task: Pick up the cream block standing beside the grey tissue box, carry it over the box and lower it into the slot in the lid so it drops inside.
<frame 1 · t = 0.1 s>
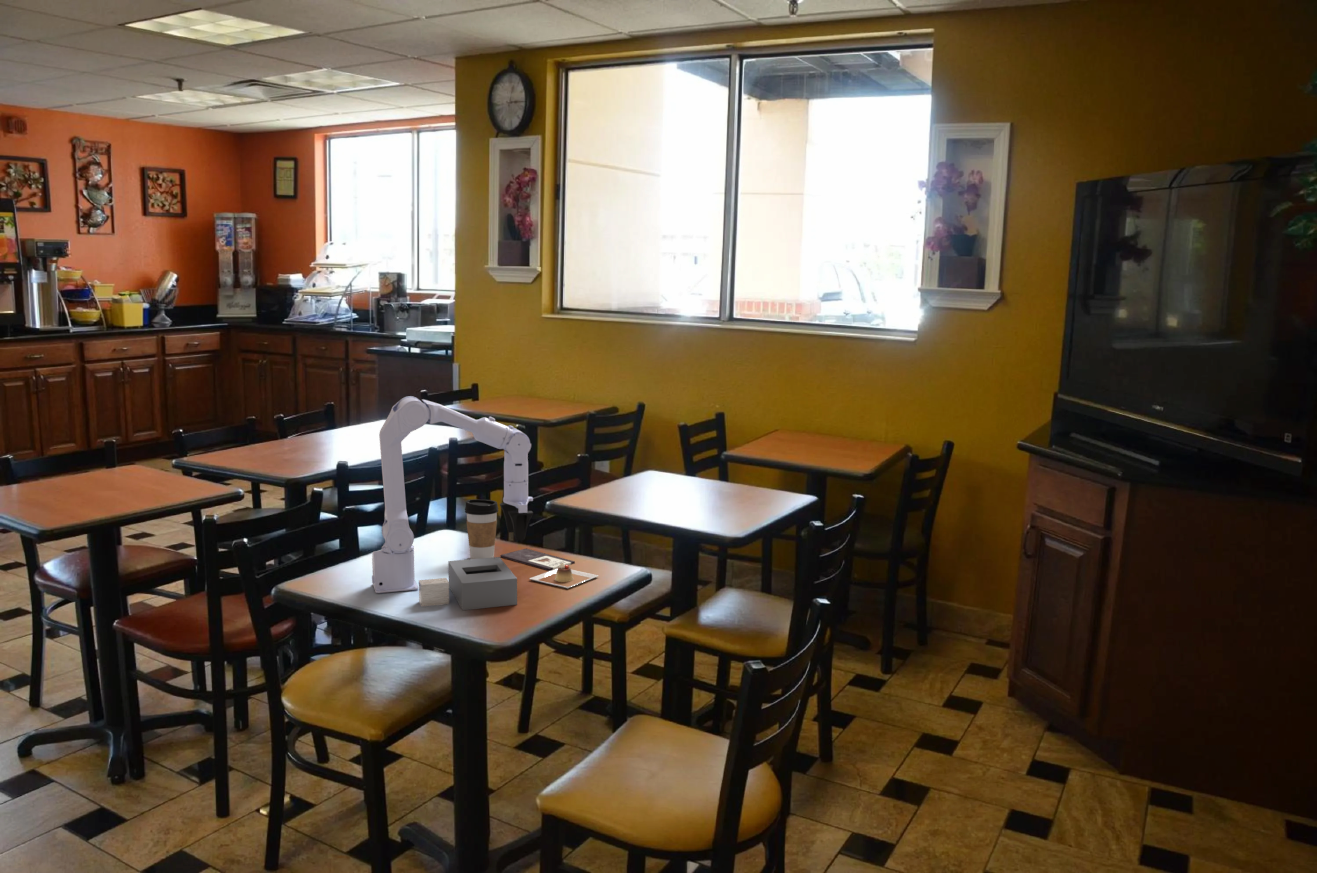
hand: (516, 535, 236), 10 cm above the table, fingers open, 7 cm apart
coffee cup: (482, 558, 253), on the table
dessert: (564, 582, 236), on the table
grey tissue box: (482, 595, 223), on the table
chocolate bar: (537, 562, 252), on the table
cream block: (434, 603, 217), on the table
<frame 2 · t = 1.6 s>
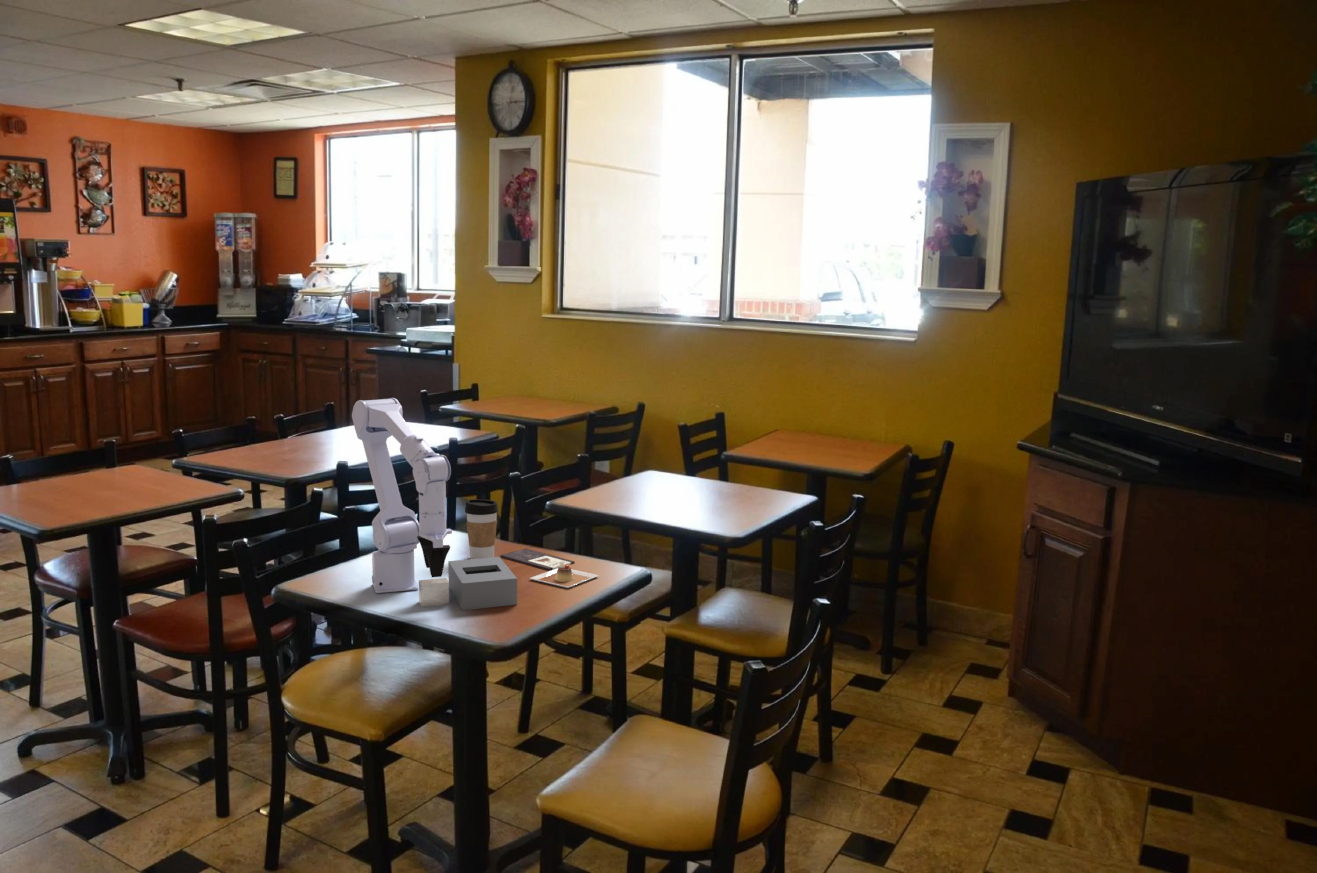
hand: (433, 571, 216), 7 cm above the table, fingers open, 7 cm apart
nothing on the table moved.
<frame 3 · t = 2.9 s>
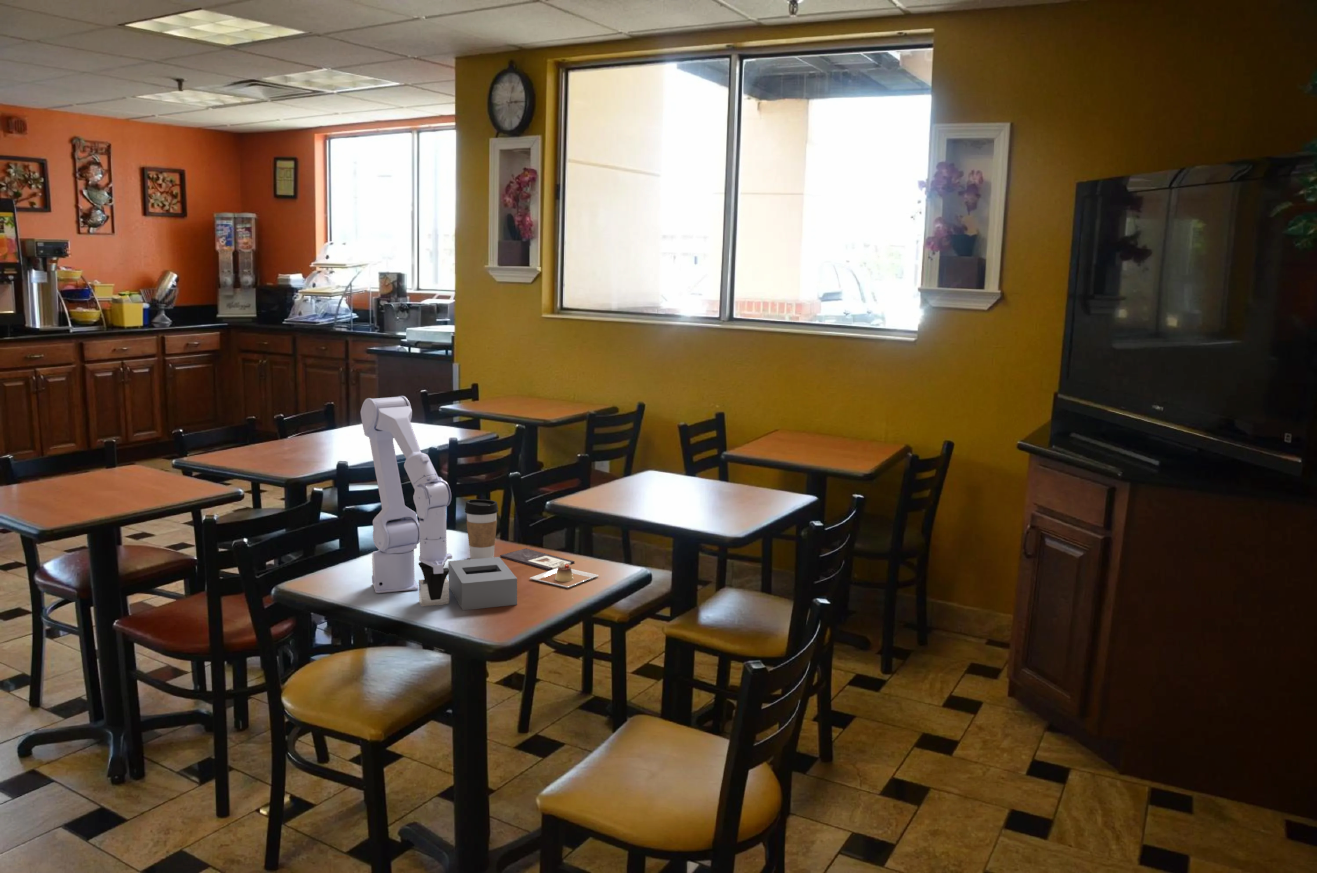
hand: (434, 596, 217), 1 cm above the table, fingers closed on cream block, 3 cm apart
cream block: (434, 602, 217), on the table, touching gripper
everything else where it was.
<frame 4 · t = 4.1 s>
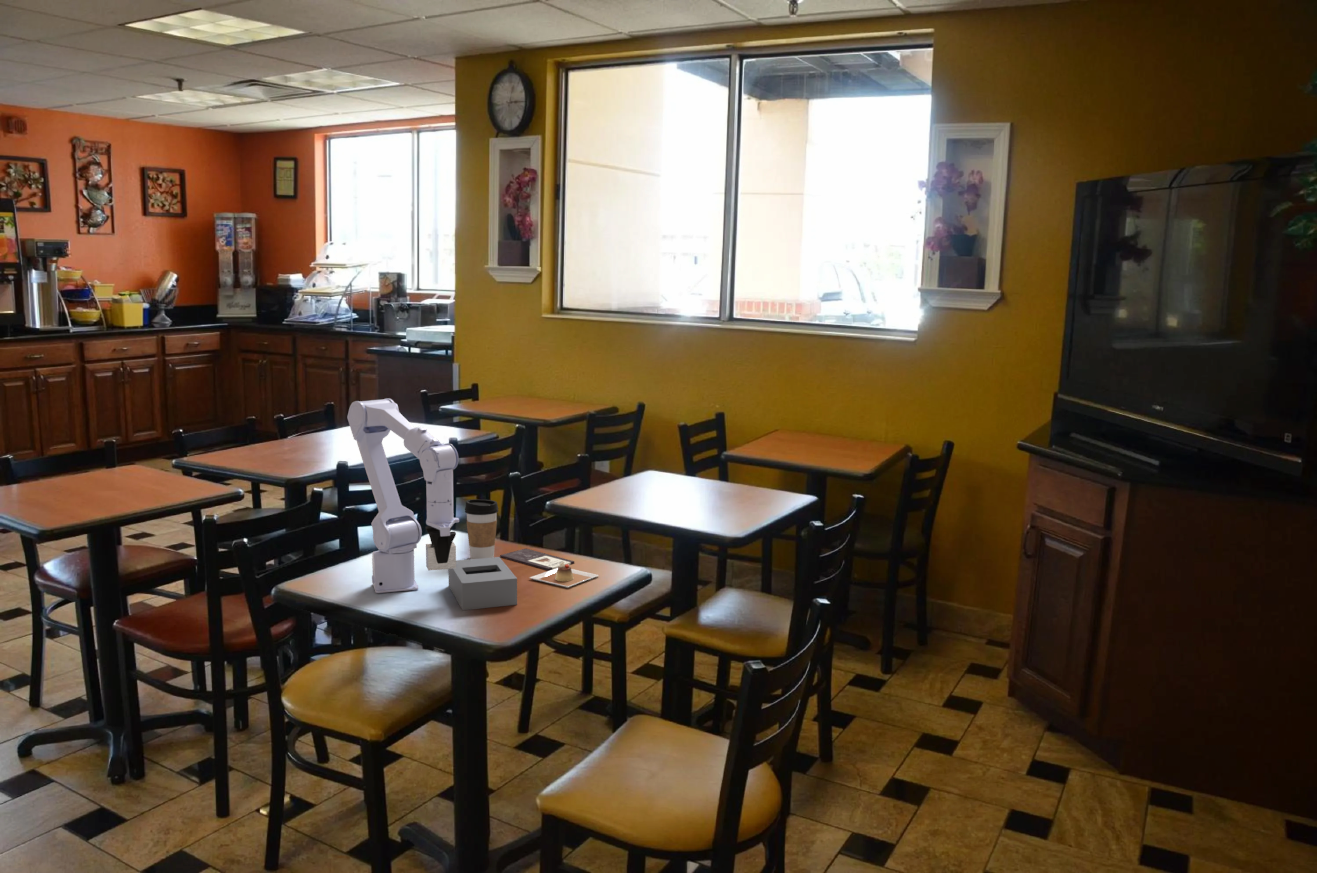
hand: (441, 560, 216), 9 cm above the table, fingers closed on cream block, 3 cm apart
cream block: (441, 567, 217), point 8 cm above the table, touching gripper
everything else where it was.
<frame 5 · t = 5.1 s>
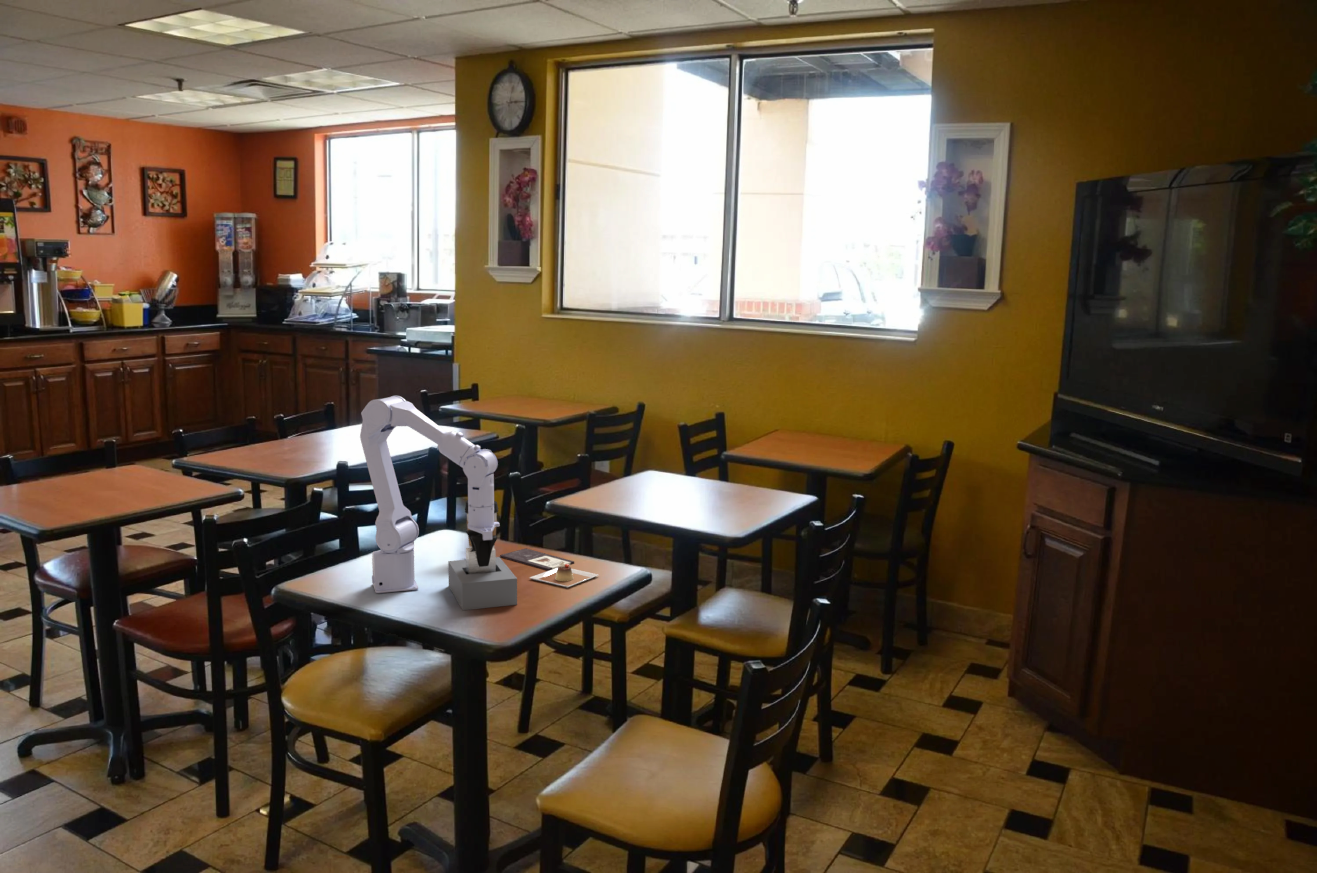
hand: (481, 563, 222), 7 cm above the table, fingers closed on cream block, 3 cm apart
cream block: (480, 570, 222), point 6 cm above the table, touching gripper
everything else where it was.
when the fingers open (7 cm above the table, at t = 5.5 s): cream block drops 5 cm, resting in grey tissue box.
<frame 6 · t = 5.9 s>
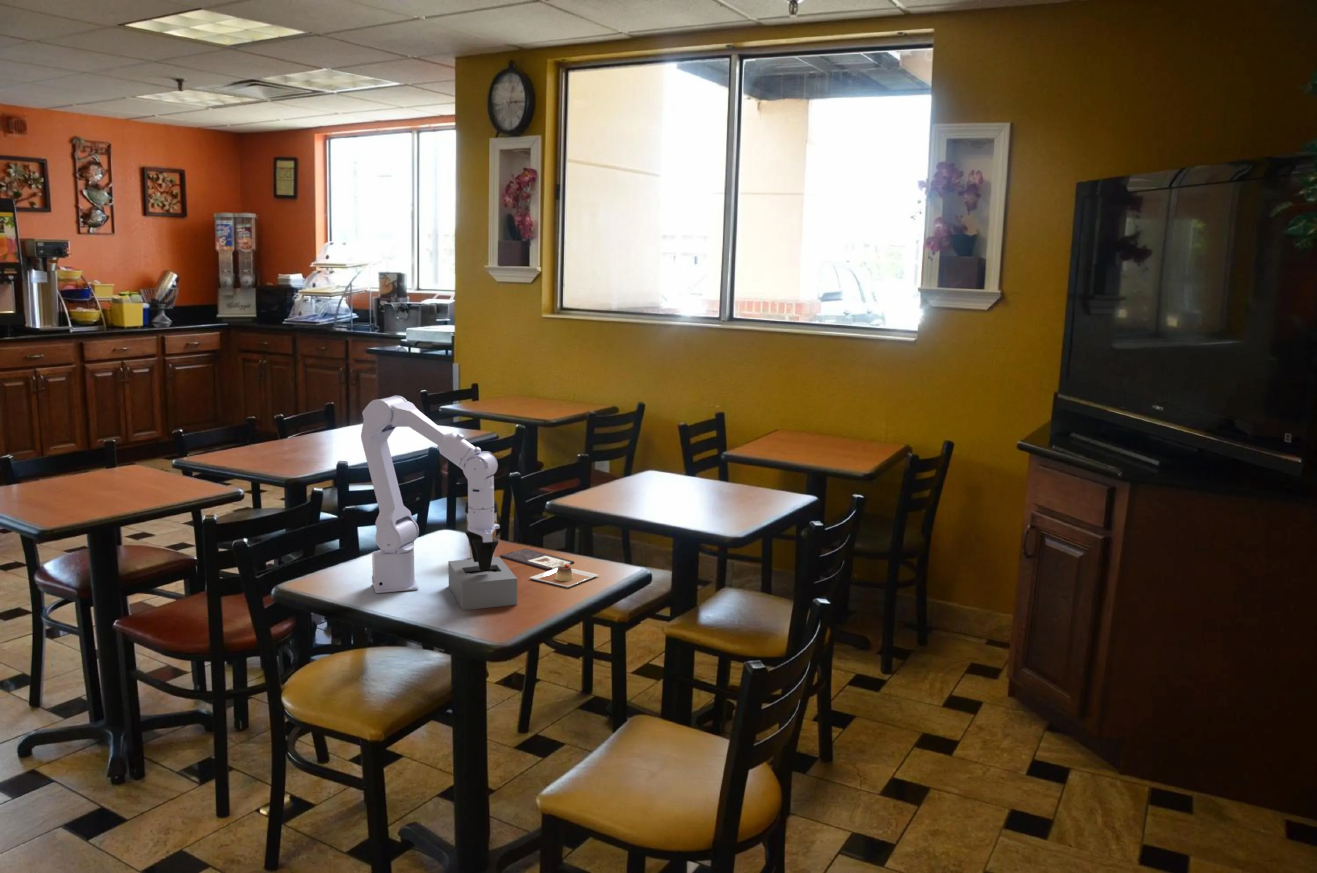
hand: (481, 565, 222), 7 cm above the table, fingers open, 6 cm apart
cream block: (481, 595, 223), resting in grey tissue box
everything else where it was.
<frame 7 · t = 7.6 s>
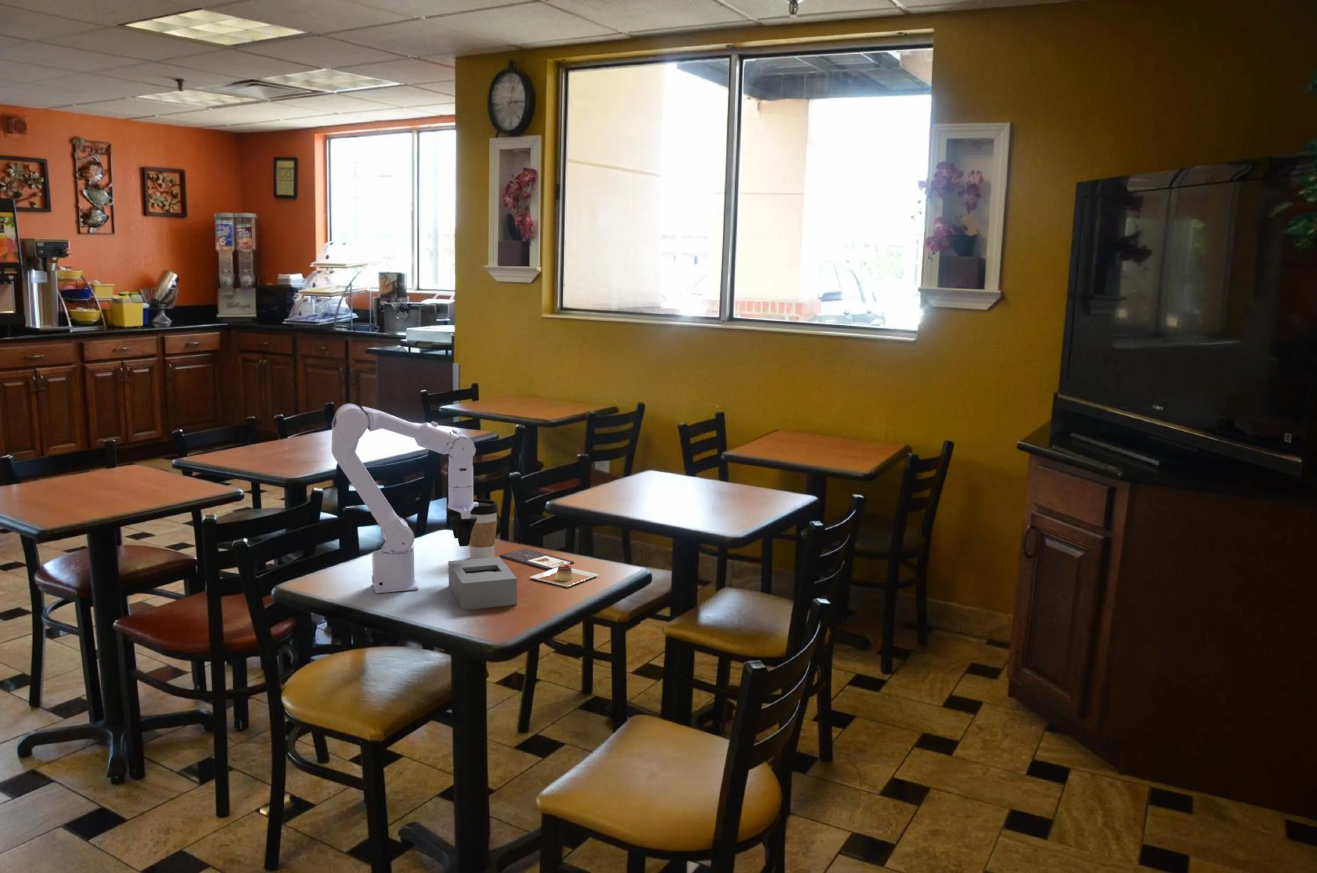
hand: (461, 541, 232), 9 cm above the table, fingers open, 7 cm apart
nothing on the table moved.
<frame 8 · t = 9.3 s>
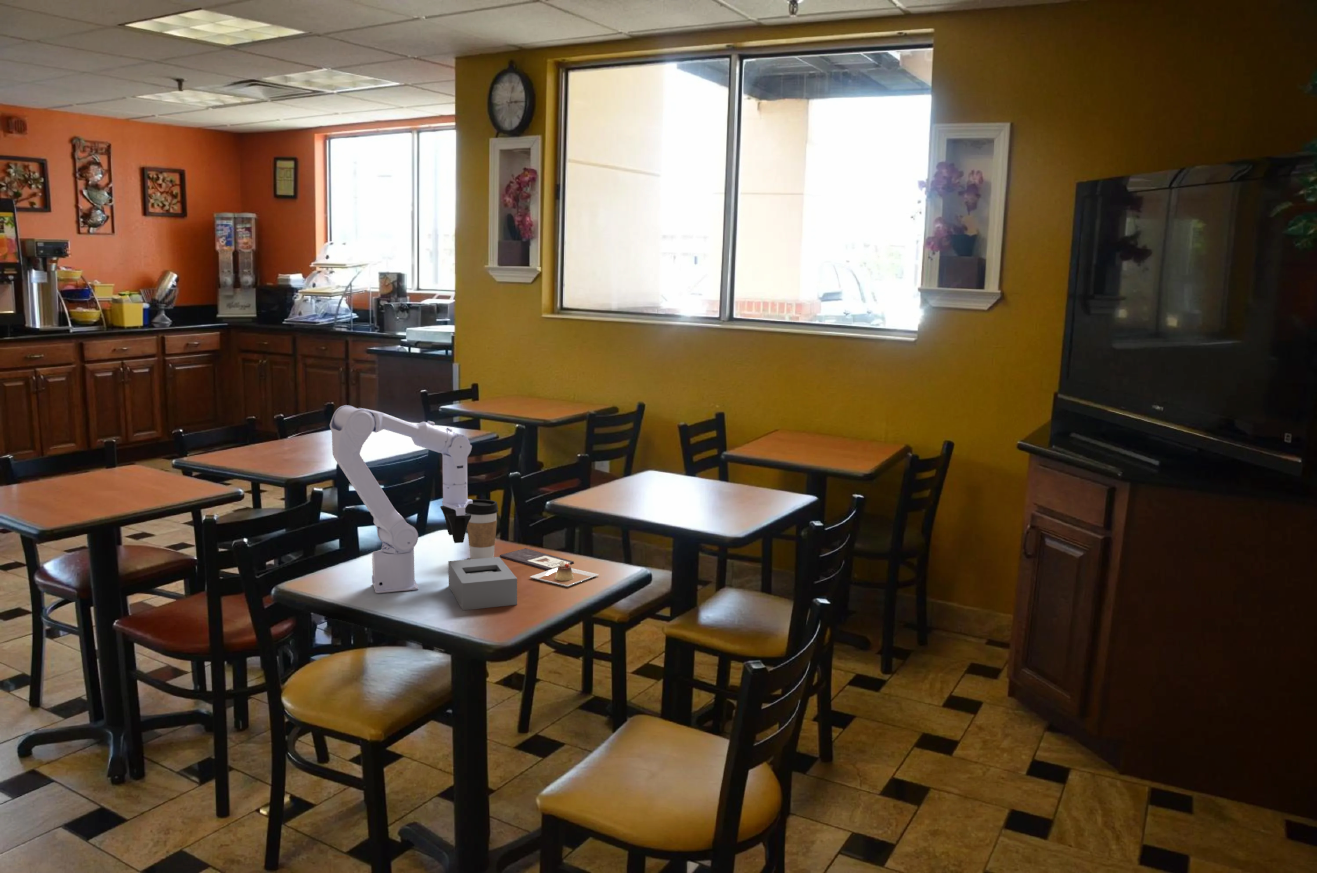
hand: (455, 538, 235), 9 cm above the table, fingers open, 7 cm apart
at the end: cream block inside the target area on the grey tissue box (0.2 cm from its centre), point 0.0 cm above the grey tissue box's base; the gripper is holding nothing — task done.
